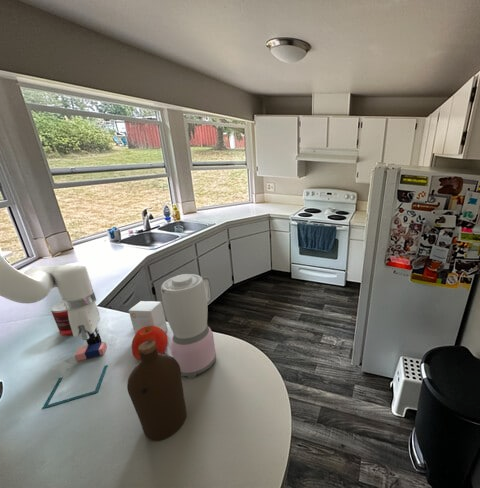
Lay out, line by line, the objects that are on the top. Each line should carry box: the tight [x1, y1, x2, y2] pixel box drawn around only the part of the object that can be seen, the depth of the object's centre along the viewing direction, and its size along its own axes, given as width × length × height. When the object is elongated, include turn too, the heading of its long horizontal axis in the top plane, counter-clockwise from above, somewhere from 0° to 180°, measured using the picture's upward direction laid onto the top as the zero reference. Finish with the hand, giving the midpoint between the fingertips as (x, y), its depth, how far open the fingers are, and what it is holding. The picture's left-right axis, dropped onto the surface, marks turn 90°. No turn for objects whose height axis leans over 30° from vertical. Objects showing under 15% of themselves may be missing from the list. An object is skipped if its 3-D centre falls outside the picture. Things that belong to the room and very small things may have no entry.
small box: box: [128, 300, 168, 335], centre depth 93 cm, size 8×6×13 cm
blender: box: [160, 273, 217, 379], centre depth 79 cm, size 16×12×32 cm
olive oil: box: [126, 341, 187, 442], centre depth 61 cm, size 11×11×25 cm
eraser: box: [74, 341, 108, 362], centre depth 85 cm, size 7×4×3 cm, turn 116°
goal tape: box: [41, 364, 108, 410], centre depth 74 cm, size 12×11×1 cm
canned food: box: [50, 301, 73, 337], centre depth 95 cm, size 8×8×11 cm
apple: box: [131, 325, 169, 362], centre depth 85 cm, size 10×10×10 cm
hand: (95, 344), depth 88 cm, fingers closed
